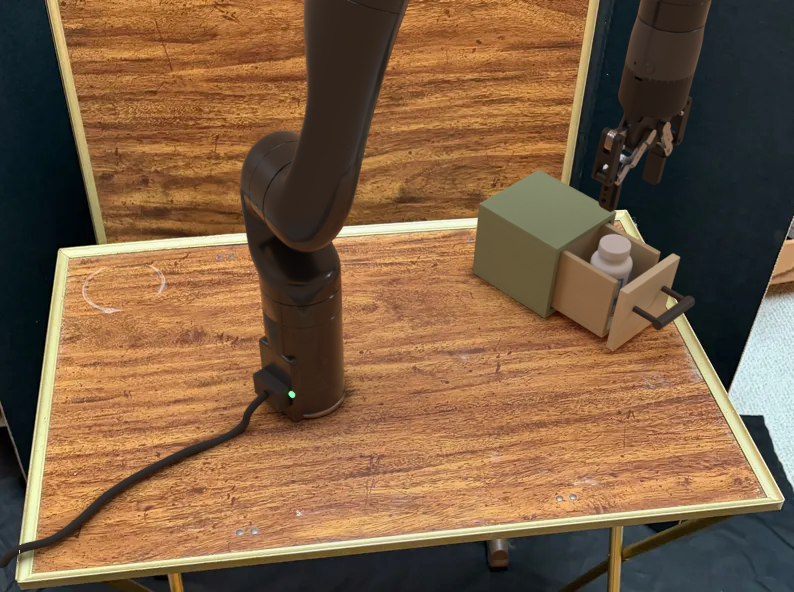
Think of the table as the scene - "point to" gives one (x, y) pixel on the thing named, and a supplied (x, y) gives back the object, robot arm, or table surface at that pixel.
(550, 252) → the cabinet
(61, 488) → the table surface
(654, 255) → the drawer
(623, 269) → the pill bottle
